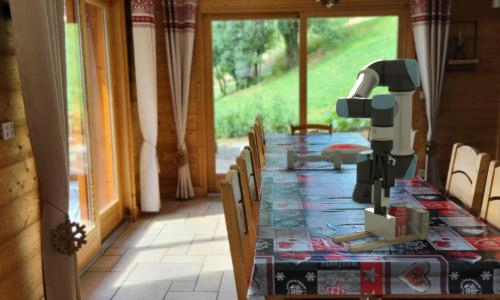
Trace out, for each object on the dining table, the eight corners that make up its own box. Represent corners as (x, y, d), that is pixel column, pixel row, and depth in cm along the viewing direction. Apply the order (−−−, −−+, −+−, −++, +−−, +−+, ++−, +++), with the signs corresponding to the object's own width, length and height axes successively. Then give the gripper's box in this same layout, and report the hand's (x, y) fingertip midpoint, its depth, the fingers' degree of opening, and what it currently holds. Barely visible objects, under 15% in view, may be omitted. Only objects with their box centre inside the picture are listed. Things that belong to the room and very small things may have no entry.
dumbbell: (287, 168, 298) (288, 148, 298) (340, 168, 294) (340, 148, 294) (287, 168, 285) (287, 147, 285) (341, 169, 281) (341, 147, 281)
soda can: (396, 240, 164) (397, 207, 162) (384, 234, 170) (385, 203, 168) (409, 237, 167) (411, 205, 165) (397, 232, 172) (398, 201, 170)
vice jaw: (362, 230, 170) (364, 177, 167) (372, 228, 172) (374, 175, 168) (386, 241, 158) (388, 184, 155) (396, 239, 160) (398, 183, 156)
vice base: (330, 240, 165) (330, 213, 164) (400, 227, 178) (401, 202, 176) (353, 253, 153) (354, 224, 151) (428, 238, 165) (429, 211, 163)
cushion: (371, 165, 298) (372, 149, 296) (315, 162, 311) (315, 147, 310) (377, 155, 332) (377, 141, 330) (326, 153, 345) (326, 139, 344)
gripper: (357, 136, 166) (356, 199, 169) (390, 142, 150) (388, 211, 154) (374, 135, 168) (372, 196, 172) (408, 141, 153) (405, 209, 156)
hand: (380, 203), depth 163 cm, fingers closed on vice jaw, 4 cm apart
